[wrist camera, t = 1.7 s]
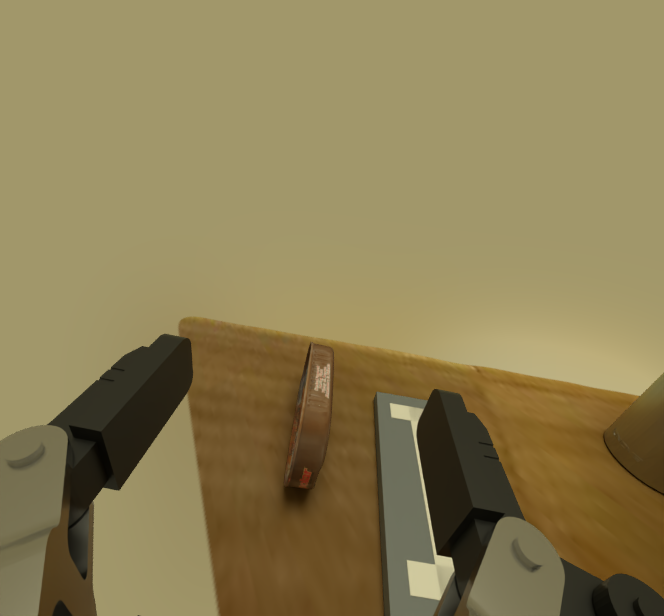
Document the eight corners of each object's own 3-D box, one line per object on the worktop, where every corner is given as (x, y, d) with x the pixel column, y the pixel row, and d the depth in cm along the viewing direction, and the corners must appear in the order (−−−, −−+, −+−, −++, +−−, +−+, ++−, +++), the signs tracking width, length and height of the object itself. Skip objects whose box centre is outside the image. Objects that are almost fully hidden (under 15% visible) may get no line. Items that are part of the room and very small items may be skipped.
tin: (300, 379, 39) (308, 325, 34) (325, 382, 39) (336, 330, 35) (278, 506, 26) (287, 447, 22) (315, 511, 26) (331, 453, 22)
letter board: (460, 415, 38) (465, 406, 37) (542, 654, 21) (555, 648, 20) (373, 400, 38) (376, 391, 37) (385, 628, 21) (391, 622, 20)
